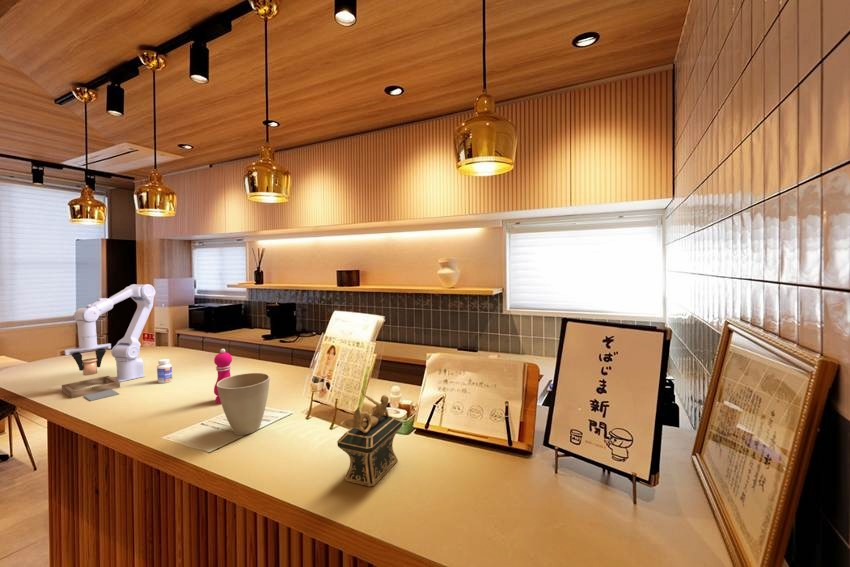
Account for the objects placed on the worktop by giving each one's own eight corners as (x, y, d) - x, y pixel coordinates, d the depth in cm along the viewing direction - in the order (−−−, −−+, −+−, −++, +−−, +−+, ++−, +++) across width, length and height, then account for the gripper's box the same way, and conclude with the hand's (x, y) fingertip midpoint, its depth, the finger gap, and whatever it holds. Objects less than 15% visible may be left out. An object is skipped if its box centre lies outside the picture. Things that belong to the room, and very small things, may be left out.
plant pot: (235, 420, 128) (233, 372, 127) (279, 419, 127) (277, 372, 126) (208, 441, 113) (205, 388, 112) (258, 441, 112) (256, 387, 111)
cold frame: (108, 381, 172) (107, 375, 172) (120, 387, 163) (119, 381, 163) (62, 391, 160) (61, 385, 160) (71, 398, 151) (71, 392, 151)
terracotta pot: (96, 371, 165) (95, 357, 164) (100, 373, 162) (99, 359, 161) (80, 374, 160) (79, 360, 160) (84, 376, 157) (82, 361, 157)
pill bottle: (167, 383, 168) (165, 361, 167) (154, 383, 168) (153, 361, 167) (175, 379, 173) (174, 358, 173) (163, 379, 173) (162, 358, 173)
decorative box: (372, 450, 105) (371, 380, 104) (404, 457, 102) (402, 384, 100) (326, 491, 87) (324, 406, 86) (363, 501, 83) (360, 413, 82)
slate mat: (111, 390, 160) (111, 389, 160) (119, 394, 155) (119, 393, 155) (83, 396, 153) (83, 395, 153) (90, 401, 147) (90, 400, 147)
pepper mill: (240, 398, 147) (237, 347, 146) (223, 405, 141) (220, 351, 139) (227, 396, 150) (224, 345, 149) (210, 402, 144) (207, 350, 142)
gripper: (106, 332, 168) (108, 363, 169) (61, 338, 156) (64, 371, 157) (111, 334, 164) (113, 365, 165) (66, 340, 152) (68, 374, 153)
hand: (89, 368), depth 161 cm, fingers closed on terracotta pot, 5 cm apart
